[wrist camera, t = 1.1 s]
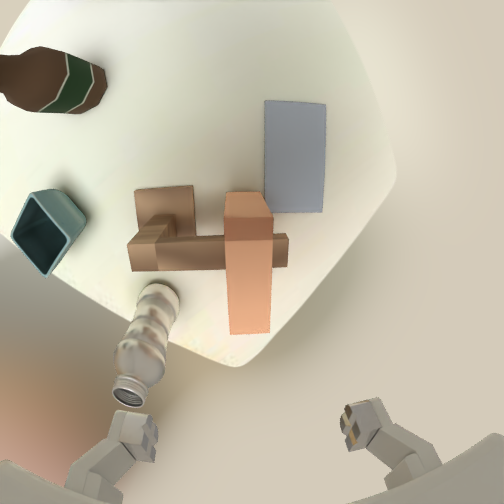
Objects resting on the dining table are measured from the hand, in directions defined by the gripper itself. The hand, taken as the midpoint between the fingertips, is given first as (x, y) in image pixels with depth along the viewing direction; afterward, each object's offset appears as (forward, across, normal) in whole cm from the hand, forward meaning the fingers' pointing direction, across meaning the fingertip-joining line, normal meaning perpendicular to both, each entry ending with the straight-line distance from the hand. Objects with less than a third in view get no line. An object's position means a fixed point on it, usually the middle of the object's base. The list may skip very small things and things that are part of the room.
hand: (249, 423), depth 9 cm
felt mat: (+30, -8, -9) cm, 32 cm away
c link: (+26, -1, +1) cm, 26 cm away
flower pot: (+30, +26, -2) cm, 40 cm away
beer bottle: (+30, +21, -21) cm, 42 cm away
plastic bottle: (+30, +12, +12) cm, 35 cm away
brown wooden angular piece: (+30, +4, 0) cm, 30 cm away
